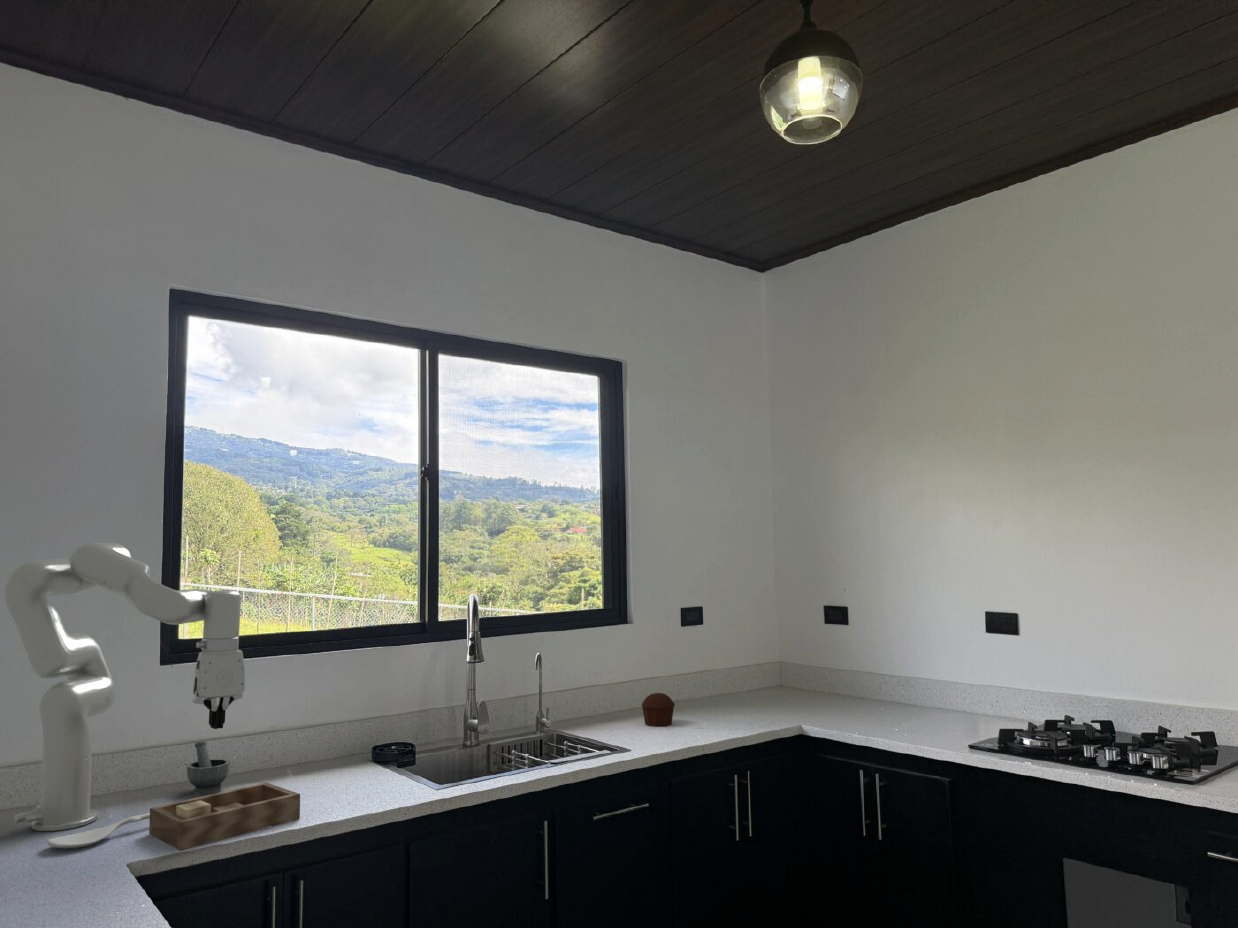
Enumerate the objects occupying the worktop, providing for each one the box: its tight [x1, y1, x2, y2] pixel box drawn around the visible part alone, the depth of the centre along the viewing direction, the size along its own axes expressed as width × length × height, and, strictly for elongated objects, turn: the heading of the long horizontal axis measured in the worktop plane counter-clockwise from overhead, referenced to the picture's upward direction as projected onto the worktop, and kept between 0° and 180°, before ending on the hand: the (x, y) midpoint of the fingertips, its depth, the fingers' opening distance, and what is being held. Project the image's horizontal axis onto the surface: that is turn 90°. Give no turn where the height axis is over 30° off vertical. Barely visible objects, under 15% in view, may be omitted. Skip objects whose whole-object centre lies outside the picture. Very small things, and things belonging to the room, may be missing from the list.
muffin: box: [640, 692, 676, 728], centre depth 295 cm, size 12×11×10 cm
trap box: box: [148, 782, 301, 851], centre depth 194 cm, size 26×16×6 cm, turn 138°
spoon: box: [46, 812, 150, 849], centre depth 192 cm, size 9×32×4 cm, turn 141°
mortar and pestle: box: [186, 740, 231, 796], centre depth 224 cm, size 11×9×12 cm
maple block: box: [176, 800, 211, 819], centre depth 186 cm, size 5×5×4 cm
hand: (216, 727), depth 199 cm, fingers closed
